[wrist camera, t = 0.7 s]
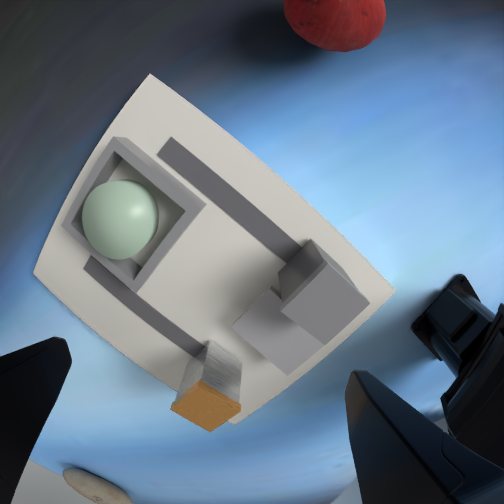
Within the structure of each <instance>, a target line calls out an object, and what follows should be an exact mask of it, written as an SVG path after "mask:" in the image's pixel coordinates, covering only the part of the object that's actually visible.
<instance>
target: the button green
mask: <svg viewBox="0 0 504 504" xmlns="http://www.w3.org/2000/svg"><path fill="white" fill-rule="evenodd" d="M82 224H83V229H84V232H85V235H86V237H87V239H88V241H89V243H90V244H91V245H92V247H93V248H94V249H95V250H96V251H97V252H99V253H100V254H102V255H103V256H105V257H107V258H111V259H116V260H121V259H127V258H130V257H132V256H134V255H135V254H137V253H138V252H139V251H140V250H141V249H143V248H144V247H145V246H146V245H147V244H148V243H150V241H151V240H152V239H153V237H154V236H155V234H156V232H157V228H158V224H159V211H158V206H157V203H156V201H155V199H154V197H153V195H152V194H151V192H150V191H149V190H148V189H147V188H146V187H145V186H143V185H142V184H140V183H139V182H136V181H134V180H128V179H122V180H117V181H112V182H107V183H104V184H101V185H99V186H98V187H96V188H95V189H94V190H93V191H92V192H91V193H90V194H89V196H88V197H87V199H86V201H85V204H84V206H83V211H82Z"/></svg>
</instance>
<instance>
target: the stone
mask: <svg viewBox="0 0 504 504" xmlns="http://www.w3.org/2000/svg"><path fill="white" fill-rule="evenodd" d="M63 477H64V479H65V480H66V482H67V483H68V484H69V485H70V486H71V487H72V488H73V489H74V490H75V491H77V492H78V493H80V494H81V495H83V496H84V497H86V498H88V499H90V500H92V501H93V502H95V503H97V504H133V502H132V499H131V498H130V496H129V495H128V494H127V493H126V492H124V491H123V490H122V489H120V488H119V487H117V486H116V485H114V484H112V483H110V482H108V481H107V480H104V479H102V478H100V477H97V476H95V475H93V474H90V473H88V472H86V471H83V470H80V469H76V468H68V469H65V470H64V471H63Z"/></svg>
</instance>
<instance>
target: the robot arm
mask: <svg viewBox="0 0 504 504" xmlns="http://www.w3.org/2000/svg"><path fill="white" fill-rule="evenodd" d="M461 279H462V280H461ZM460 280H461V281H460ZM416 327H418V328H416ZM411 330H412V331H413V332H414V334H415V335H416V336H417V337H418V338H419V339H420V340H421V341H422V342H423V343H424V344H425V345H426V346H427V347H428V349H429V350H430V351H431V352H432V353H433V354H434V355H435V356H436V357H437V358H438V360H439V361H444V362H445V363H446V365H447V366H448V367H449V369H450V370H451V371H452V373H453V374H454V375H455V377H456V379H455V381H454V382H453V384H452V385H451V386H450V388H449V389H448V390H447V391H446V392H445V393H444V394H443V395H442V396H441V398H440V399H441V403H442V407H443V411H444V415H445V419H446V424H447V427H448V432H449V434H447V433H446V432H443V430H442V429H441V428H439V427H438V426H437V425H435V424H434V423H433V422H431V421H430V420H429V419H428V418H426V417H425V416H424V415H422V414H421V413H420V412H419V411H417V410H416V409H415V408H413V407H412V406H411V405H410V404H408V403H407V402H406V401H404V400H403V399H402V398H401V397H399V396H398V395H397V394H395V393H394V392H393V391H392V390H390V389H389V388H388V387H387V386H385V385H384V384H383V383H382V382H380V381H379V380H378V379H376V378H375V377H374V376H373V375H371V374H370V373H369V372H368V371H366V370H354V371H352V373H351V375H350V378H349V381H348V384H347V387H346V391H345V403H346V412H347V422H348V432H349V440H350V445H351V450H352V454H353V459H354V464H355V468H356V473H357V478H358V482H359V487H360V493H361V497H362V503H363V504H504V304H503V303H501V304H500V306H499V308H498V312H497V314H496V315H495V314H494V313H493V312H491V311H490V310H489V309H488V308H487V307H485V306H484V305H483V304H482V303H481V302H480V300H479V298H478V296H477V295H476V293H475V291H474V290H473V288H472V286H471V285H470V283H469V281H468V280H467V278H466V277H465V276H464V275H463V274H459V275H458V276H457V277H456V278H455V279H454V280H453V281H452V283H451V284H450V285H449V286H448V287H447V288H446V289H445V291H444V292H443V293H442V294H441V295H440V296H439V297H438V298H437V299H436V300H435V301H434V303H433V304H432V305H431V306H430V307H429V308H428V309H427V310H426V311H425V312H424V313H423V314H422V315H421V316H420V317H419V318H418V319H417V320H416V321H415V322H414V323H413V324H412V326H411ZM71 364H72V358H71V355H70V352H69V348H68V345H67V342H66V340H65V339H63V338H60V337H52V338H49V339H46V340H44V341H41V342H38V343H36V344H33V345H30V346H28V347H25V348H22V349H20V350H17V351H14V352H11V353H9V354H6V355H3V356H1V357H0V504H11V501H12V499H13V496H14V493H15V490H16V487H17V485H18V483H19V480H20V478H21V475H22V473H23V470H24V468H25V466H26V463H27V461H28V459H29V456H30V454H31V452H32V450H33V448H34V445H35V443H36V441H37V439H38V437H39V435H40V433H41V431H42V428H43V426H44V424H45V422H46V420H47V418H48V416H49V414H50V412H51V410H52V408H53V407H54V405H55V403H56V401H57V398H58V396H59V394H60V391H61V389H62V386H63V384H64V381H65V379H66V376H67V374H68V372H69V369H70V367H71Z"/></svg>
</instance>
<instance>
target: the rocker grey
mask: <svg viewBox="0 0 504 504" xmlns="http://www.w3.org/2000/svg"><path fill="white" fill-rule="evenodd" d="M281 304H282V297H281V294H280V293H279V292H278V291H277V290H276V289H275V288H274V287H273V286H272V285H271V286H270V287H269V288H268V289H267V290H266V291H265V292H264V293H263V294H262V295H261V296H260V297H259V298H258V299H257V300H256V301H255V302H254V303H253V304H252V305H251V306H250V307H249V308H248V309H247V310H246V311H245V312H244V313H243V314H242V315H241V316H240V317H239V318H238V319H237V320H236V321H235V322H234V323H233V325H232V326H231V328H232V329H233V330H235V331H236V332H237V333H238V334H239V335H240V336H241V337H242V338H244V339H245V340H246V341H247V342H248V343H249V344H250V345H252V346H253V347H254V348H255V349H256V350H257V351H259V352H260V353H261V354H262V355H263V356H264V357H266V358H267V359H268V360H269V361H270V362H271V363H273V364H274V365H275V366H276V367H277V368H279V369H280V370H281V371H282V372H283V373H285V374H286V375H287V376H288V375H289V374H291V373H292V372H293V371H294V370H296V369H297V368H298V367H299V366H300V365H302V364H303V363H304V362H305V361H306V360H308V359H309V358H310V357H311V356H312V355H314V354H315V353H316V352H317V351H318V350H319V349H321V348H322V347H323V346H324V344H322V343H321V342H320V341H318V340H317V339H316V338H315V337H313V336H312V335H311V334H309V333H308V332H307V331H305V330H304V329H303V328H302V327H300V326H299V325H298V324H296V323H295V322H294V321H293V320H291V319H290V318H289V317H287V316H286V315H285V314H284V313H282V312H281V310H280V305H281Z"/></svg>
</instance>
